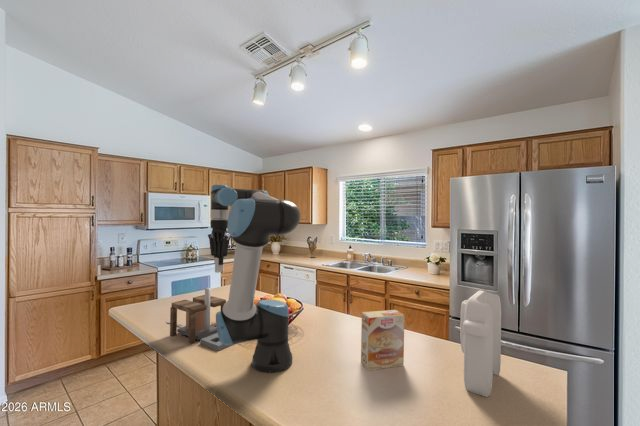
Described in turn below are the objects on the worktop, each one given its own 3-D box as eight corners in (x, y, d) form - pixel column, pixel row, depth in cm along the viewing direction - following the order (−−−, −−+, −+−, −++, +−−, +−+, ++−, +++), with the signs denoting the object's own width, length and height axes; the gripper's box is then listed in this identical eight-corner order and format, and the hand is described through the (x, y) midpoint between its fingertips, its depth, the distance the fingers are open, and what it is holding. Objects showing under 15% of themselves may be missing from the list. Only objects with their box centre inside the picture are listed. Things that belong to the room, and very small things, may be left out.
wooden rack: (229, 331, 148) (229, 300, 148) (193, 345, 132) (194, 310, 132) (184, 316, 167) (184, 289, 167) (149, 327, 151) (149, 296, 152)
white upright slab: (470, 361, 121) (471, 284, 121) (503, 370, 114) (504, 289, 114) (449, 391, 100) (450, 299, 100) (487, 405, 93) (489, 305, 93)
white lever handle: (220, 331, 146) (221, 286, 146) (198, 340, 136) (199, 291, 136) (199, 324, 155) (200, 282, 155) (177, 332, 145) (177, 286, 145)
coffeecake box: (367, 371, 112) (368, 317, 112) (360, 362, 119) (360, 311, 119) (404, 366, 116) (405, 314, 116) (395, 357, 123) (395, 308, 123)
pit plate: (244, 339, 138) (244, 335, 139) (218, 350, 127) (218, 345, 127) (226, 333, 145) (226, 329, 145) (200, 343, 133) (200, 339, 133)
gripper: (236, 219, 138) (235, 272, 137) (216, 219, 145) (215, 269, 145) (222, 219, 131) (221, 275, 131) (202, 219, 139) (202, 271, 139)
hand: (218, 271), depth 138 cm, fingers closed
